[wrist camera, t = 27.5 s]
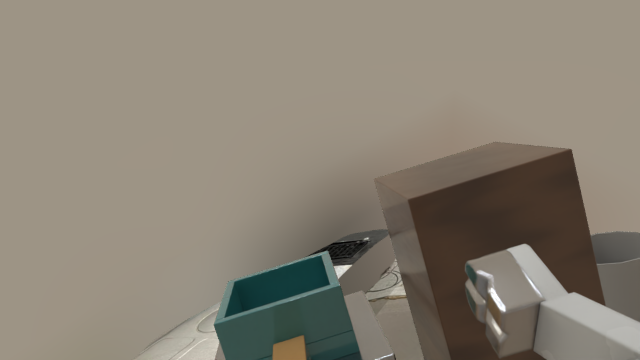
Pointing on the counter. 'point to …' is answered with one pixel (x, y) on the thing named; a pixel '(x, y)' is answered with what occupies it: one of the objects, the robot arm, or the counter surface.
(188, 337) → the counter surface
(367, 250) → the counter surface
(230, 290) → the teal handled box
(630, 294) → the cup
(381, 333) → the scale
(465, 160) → the plinth
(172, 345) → the counter surface
